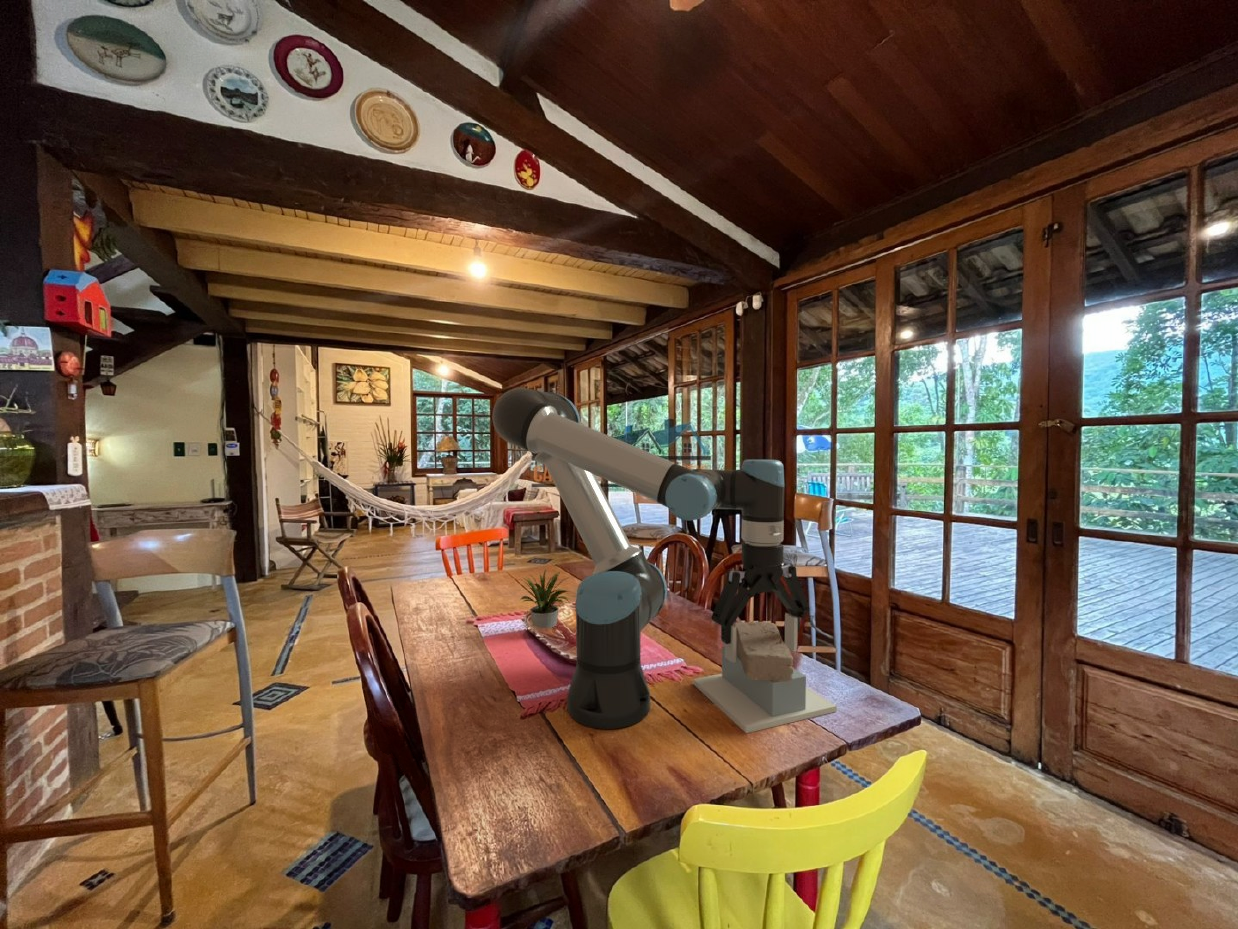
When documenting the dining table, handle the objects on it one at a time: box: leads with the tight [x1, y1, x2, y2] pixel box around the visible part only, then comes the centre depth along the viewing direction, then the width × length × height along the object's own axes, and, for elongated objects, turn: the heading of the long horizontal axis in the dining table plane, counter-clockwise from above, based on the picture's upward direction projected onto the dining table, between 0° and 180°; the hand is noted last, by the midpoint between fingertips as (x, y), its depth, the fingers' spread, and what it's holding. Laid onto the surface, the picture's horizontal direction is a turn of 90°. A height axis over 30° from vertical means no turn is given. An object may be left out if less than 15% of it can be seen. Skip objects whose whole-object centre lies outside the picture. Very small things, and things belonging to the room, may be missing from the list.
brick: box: [733, 621, 794, 681], centre depth 94 cm, size 17×8×5 cm, turn 174°
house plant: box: [517, 568, 571, 629], centre depth 124 cm, size 14×14×16 cm
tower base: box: [692, 646, 838, 734], centre depth 94 cm, size 19×18×7 cm
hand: (761, 654), depth 94 cm, fingers open, 13 cm apart
